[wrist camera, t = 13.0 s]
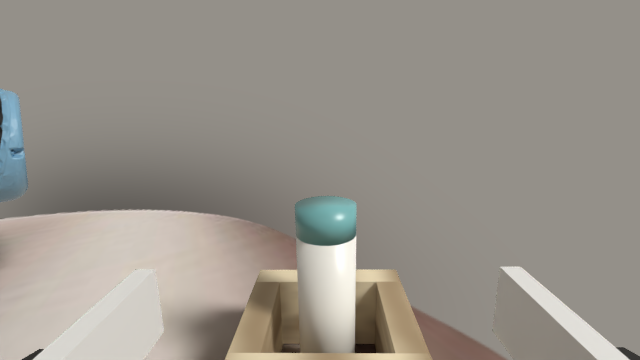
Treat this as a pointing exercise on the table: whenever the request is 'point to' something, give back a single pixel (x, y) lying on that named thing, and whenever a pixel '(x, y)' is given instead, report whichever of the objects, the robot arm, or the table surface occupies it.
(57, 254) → the table surface
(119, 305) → the robot arm
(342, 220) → the marker
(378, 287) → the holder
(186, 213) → the table surface
